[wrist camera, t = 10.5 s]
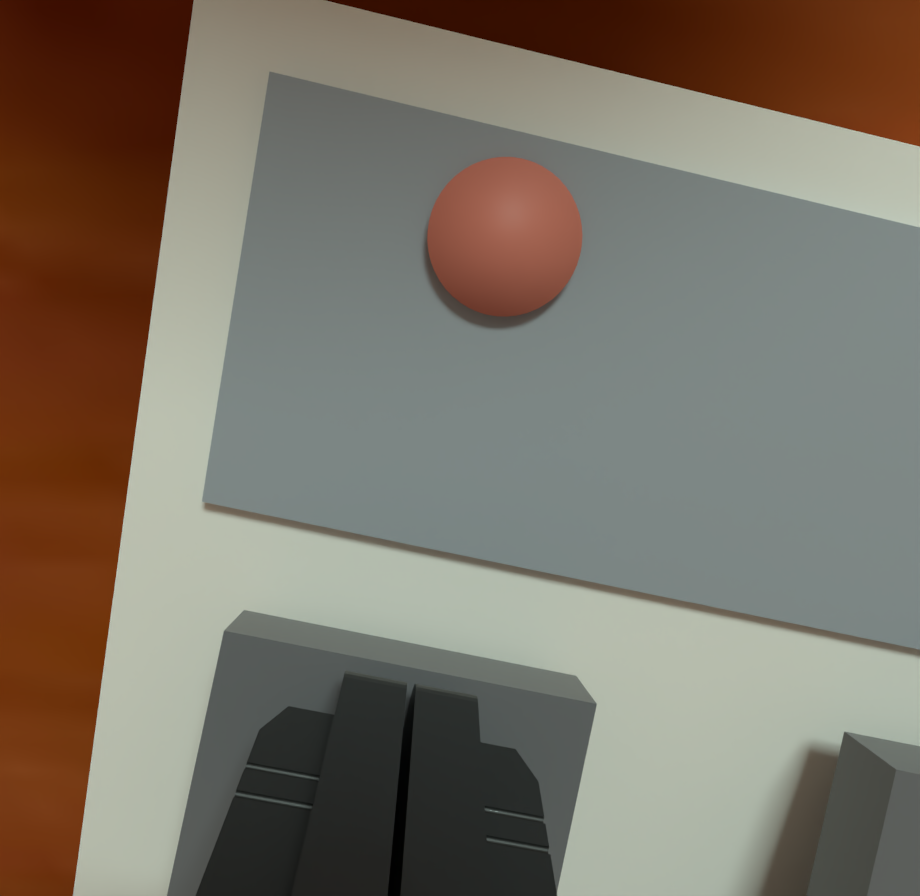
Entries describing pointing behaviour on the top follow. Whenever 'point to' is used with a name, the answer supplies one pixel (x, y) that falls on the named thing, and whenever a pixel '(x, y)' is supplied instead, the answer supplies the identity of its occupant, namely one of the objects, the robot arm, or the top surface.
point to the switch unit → (527, 427)
